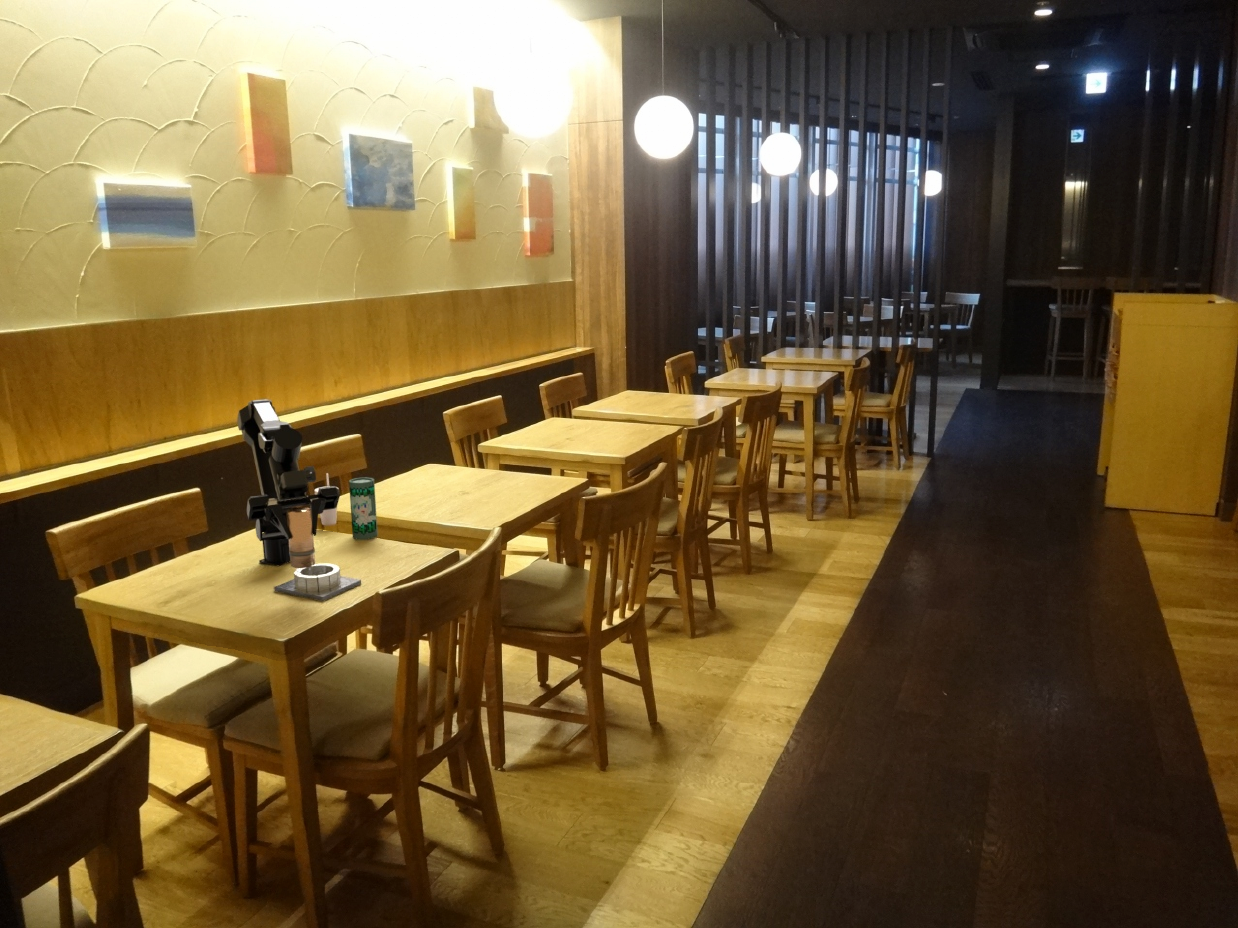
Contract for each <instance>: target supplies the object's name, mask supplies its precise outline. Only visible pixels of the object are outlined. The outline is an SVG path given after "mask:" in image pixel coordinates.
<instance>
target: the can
mask: <svg viewBox="0 0 1238 928" xmlns="http://www.w3.org/2000/svg"><path fill="white" fill-rule="evenodd" d="M348 488H349V500H350V501H349V502H350V516H351V531H352V538H353V539H354V540H356V541H357V540H359V541H365V540H367V541H368V540H372V539H376V538H378V520H377V517H378V516H377V504H376V503H377V502H376V487H375V478H374V477H355V478H352V479H349V481H348Z"/></svg>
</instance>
